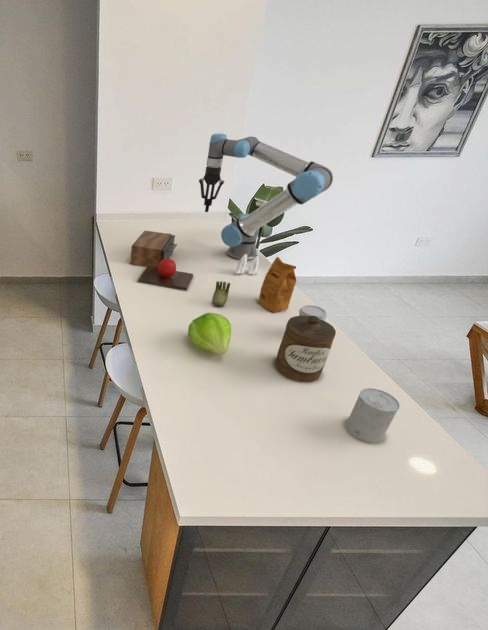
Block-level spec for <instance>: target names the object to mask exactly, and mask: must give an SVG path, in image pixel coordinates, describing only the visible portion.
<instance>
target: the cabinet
mask: <svg viewBox="0 0 488 630" xmlns="http://www.w3.org/2000/svg"><path fill="white" fill-rule="evenodd" d="M172 235H173V233H168V232H167V233H166V232H160V231H159V232H158V231H151V230H143V232H141V234H140V235H139V236H138V237H137V239H136V240H135V241H134V242H133V243H132V245H131V250H130V251H131V252H130V265H132V266H138V267H144V268H147V266H150V267H156V268H158V265H159V263H160V261H161V252H162V249H163V248H164V246H165V245H166V244H167V242H168V241H169V240H170V238H171V237H172Z"/></svg>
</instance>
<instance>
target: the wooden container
mask: <svg viewBox="0 0 488 630" xmlns="http://www.w3.org/2000/svg"><path fill="white" fill-rule="evenodd" d="M335 337H336V329H335V327H334V326H333V325H332V324H330V323H329V322H327V321H325V320H324V321H323V320H321V319H319V318H318V317H316V316H299V315H295V316H292V317H290V318H289V319H288V320H287V323H286V325H285V330H284V332H283V336H282V339H281V341H280V344H279V347H278V350H277V355H276V357H275V361H274V367H275V368H276V370H277V371H278V372H279V374H281V375H282V376H283V377H286V378H287V379H290V380H293V381H297V382H300V383H301V382H302V383H311V382H315V381H317V380H319V379H320V377H321V375H322V372H323V370H324V368H325V365H326V363H327V360H328V357H329V354H330V351H331V348H332V346H333V342H334V339H335Z"/></svg>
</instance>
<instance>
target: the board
mask: <svg viewBox="0 0 488 630" xmlns="http://www.w3.org/2000/svg"><path fill="white" fill-rule="evenodd" d="M193 278H194V273H191V272H187V271H179V270H176V272H175V273H174V275H172V276H171V277H169V278H163V277H162V276H161V275H160V274H159V272H158V268H156V267H150V266H147V267H145V269H144V270H143V272H142V273H141V275H140V276H139V277H138V279H137V282H138V283H142V284H148V285H153V286H156V287H157V286H159V287H163V288H169V289H174V290H178V291H179V290H180V291H185V292H187V291H188V289H189V286H190V284H191V282H192V279H193Z"/></svg>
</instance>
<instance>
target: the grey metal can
mask: <svg viewBox="0 0 488 630" xmlns="http://www.w3.org/2000/svg"><path fill="white" fill-rule="evenodd" d="M400 407H401V405H400V402H399V401H398V399H397V398H396V397H394V396H393V395H392V394H390V393H388V392H386V391H384V390H381V389H377V388H372V387H371V388H370V387H369V388H367V387H366V388H363V389H361V391H359V394H358V397H357V400H356V401H355V403H354V405H353V408H352V410H351V412H350V414H349V416H348V419H347V421H346V423H345V427H346V430H347V431H348V432H349V434H351V435H352V436H353V437H355V438H356V439H358V440H360V441H362V442H366V443H369V444H370V443H371V444H377V443H380V442H382V441H383V439H384V437H385V435H386V433H387V432H388V430H389V427H390V426H391V424H392V421H393V420H394V418H395V416H396V414H397V412H398V411H399V409H400Z"/></svg>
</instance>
